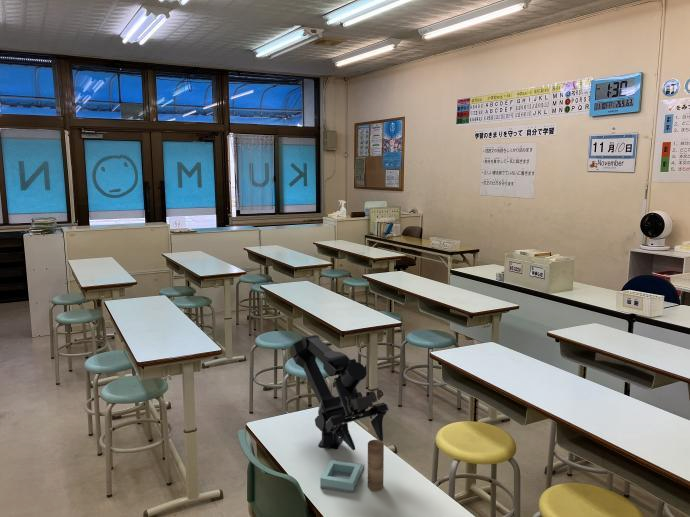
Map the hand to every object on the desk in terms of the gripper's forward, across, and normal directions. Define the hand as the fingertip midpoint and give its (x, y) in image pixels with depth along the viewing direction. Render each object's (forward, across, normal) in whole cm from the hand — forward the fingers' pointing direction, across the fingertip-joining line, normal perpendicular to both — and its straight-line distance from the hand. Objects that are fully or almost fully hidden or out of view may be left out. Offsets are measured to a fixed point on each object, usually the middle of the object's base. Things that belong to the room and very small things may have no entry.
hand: (368, 445), depth 152 cm
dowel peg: (+10, 0, +5) cm, 11 cm away
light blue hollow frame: (+4, -6, +11) cm, 13 cm away
